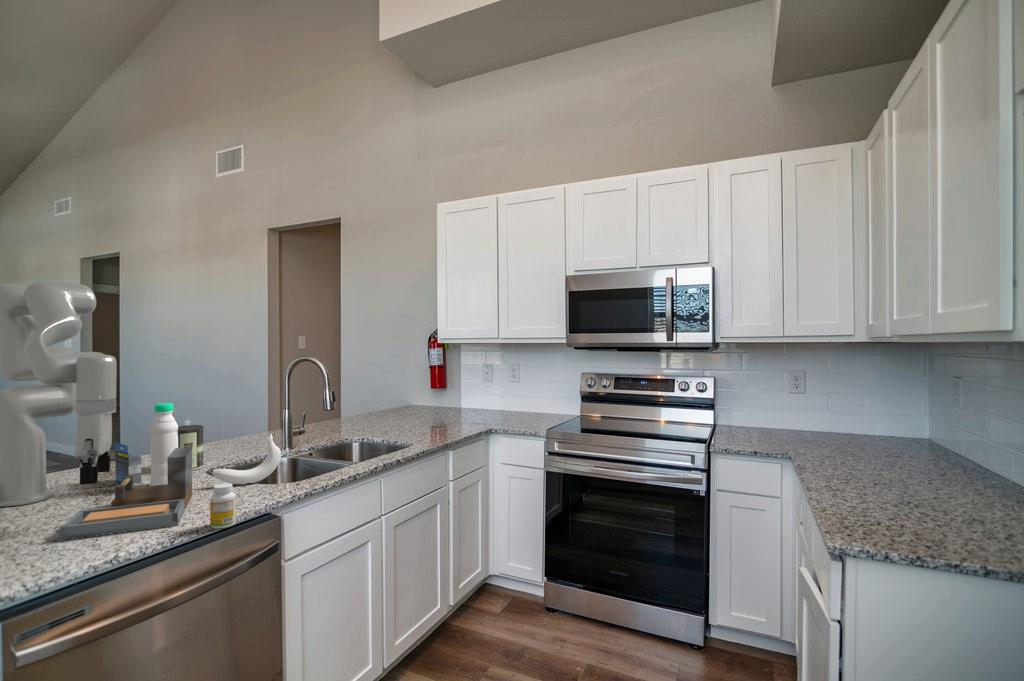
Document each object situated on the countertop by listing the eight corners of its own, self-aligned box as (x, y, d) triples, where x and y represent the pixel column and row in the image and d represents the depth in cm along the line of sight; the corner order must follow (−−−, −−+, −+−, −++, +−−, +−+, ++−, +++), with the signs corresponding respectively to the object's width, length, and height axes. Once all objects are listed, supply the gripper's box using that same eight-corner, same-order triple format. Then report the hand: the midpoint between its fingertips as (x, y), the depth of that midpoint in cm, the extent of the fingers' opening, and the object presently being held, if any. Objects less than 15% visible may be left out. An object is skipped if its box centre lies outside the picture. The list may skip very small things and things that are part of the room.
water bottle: (164, 489, 153) (163, 405, 152) (144, 488, 154) (144, 404, 154) (184, 482, 160) (183, 402, 159) (164, 481, 161) (164, 401, 161)
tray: (61, 540, 115) (61, 527, 115) (79, 522, 126) (79, 510, 126) (177, 525, 124) (177, 513, 124) (185, 509, 135) (185, 498, 135)
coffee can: (191, 463, 183) (190, 424, 183) (210, 466, 179) (210, 426, 179) (161, 470, 174) (161, 428, 173) (181, 474, 169) (180, 431, 169)
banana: (211, 487, 155) (211, 438, 155) (278, 476, 167) (278, 431, 167) (214, 491, 152) (214, 441, 151) (282, 479, 163) (282, 433, 163)
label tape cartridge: (142, 482, 160) (142, 443, 160) (127, 485, 156) (127, 445, 156) (128, 478, 164) (128, 439, 164) (114, 481, 161) (114, 442, 161)
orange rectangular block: (82, 529, 119) (82, 520, 119) (90, 520, 125) (90, 512, 125) (164, 519, 126) (164, 511, 126) (169, 511, 131) (169, 503, 131)
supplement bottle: (217, 521, 127) (216, 482, 127) (239, 520, 128) (239, 481, 128) (205, 529, 122) (205, 488, 122) (229, 528, 123) (229, 488, 122)
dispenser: (111, 517, 129) (110, 462, 129) (123, 503, 140) (123, 452, 140) (185, 508, 136) (185, 456, 136) (192, 495, 147) (191, 446, 147)
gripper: (88, 401, 129) (87, 469, 129) (62, 413, 113) (62, 490, 113) (125, 400, 132) (124, 466, 132) (105, 412, 116) (104, 487, 117)
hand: (95, 477), depth 123 cm, fingers open, 9 cm apart
